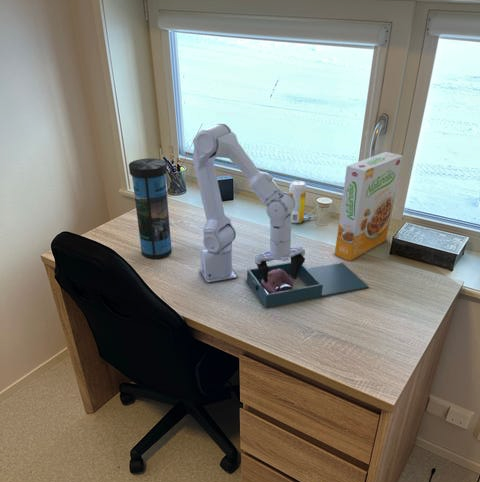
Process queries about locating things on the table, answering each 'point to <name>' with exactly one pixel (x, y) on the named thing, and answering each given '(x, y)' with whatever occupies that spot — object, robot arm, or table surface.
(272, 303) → the box
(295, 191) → the beer can
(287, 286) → the silver plate
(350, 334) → the table surface
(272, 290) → the video game controller
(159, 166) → the advertising column
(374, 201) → the cereal box
